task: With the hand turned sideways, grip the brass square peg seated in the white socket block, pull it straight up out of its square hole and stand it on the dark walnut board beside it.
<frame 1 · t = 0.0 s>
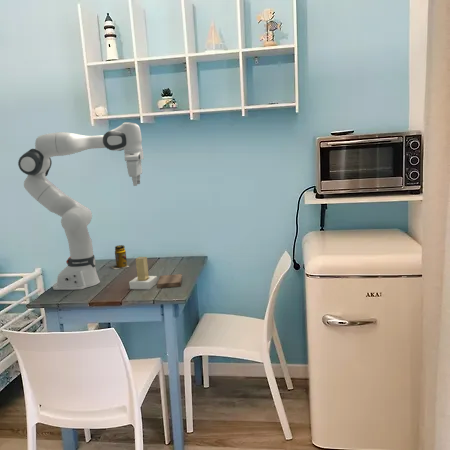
hand: (136, 184, 229), 48 cm above the table, tool pointing down, fingers open, 8 cm apart
socket block: (144, 285, 227), on the table
condiment: (120, 267, 267), on the table
board: (170, 282, 229), on the table
peg: (144, 286, 227), resting in socket block
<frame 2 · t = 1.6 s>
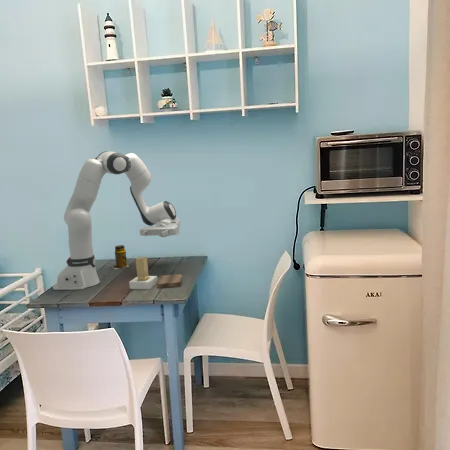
hand: (153, 234, 238), 22 cm above the table, tool horizontal, fingers open, 8 cm apart
nothing on the table moved.
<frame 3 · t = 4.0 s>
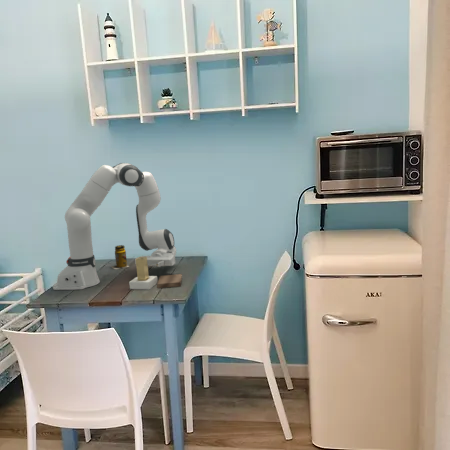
hand: (148, 265, 232), 8 cm above the table, tool horizontal, fingers open, 8 cm apart
nothing on the table moved.
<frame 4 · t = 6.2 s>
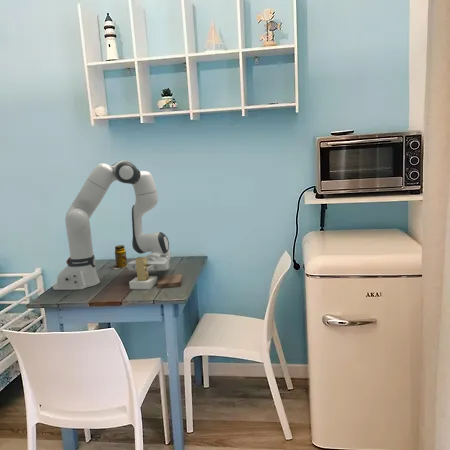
hand: (141, 269, 224), 8 cm above the table, tool horizontal, fingers closed on peg, 4 cm apart
peg: (144, 286, 227), resting in socket block, touching gripper
everything else where it was.
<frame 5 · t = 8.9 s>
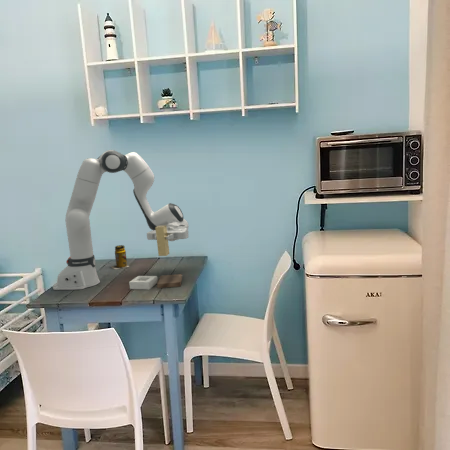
hand: (161, 238, 224), 23 cm above the table, tool horizontal, fingers closed on peg, 4 cm apart
peg: (164, 254, 226), point 14 cm above the table, touching gripper
everything else where it was.
when the fingers open (12 cm above the table, at t = 11.9 s): peg drops 1 cm, resting on board.
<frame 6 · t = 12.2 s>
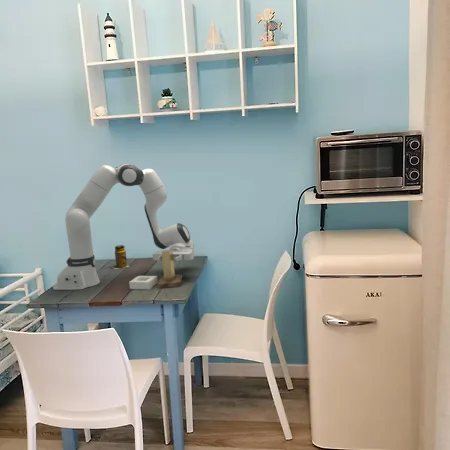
hand: (167, 259, 226), 12 cm above the table, tool horizontal, fingers open, 7 cm apart
peg: (169, 278, 229), point 2 cm above the table, touching board
everything else where it was.
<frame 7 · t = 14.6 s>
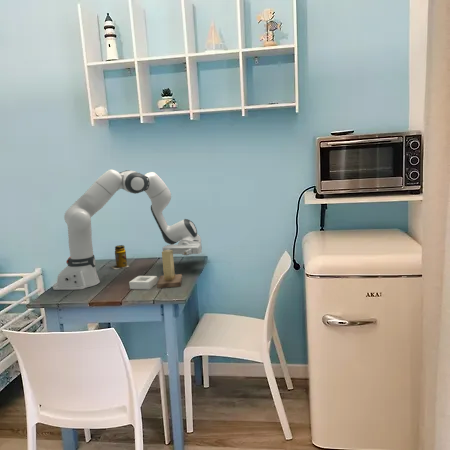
hand: (176, 253, 238), 12 cm above the table, tool horizontal, fingers open, 8 cm apart
nothing on the table moved.
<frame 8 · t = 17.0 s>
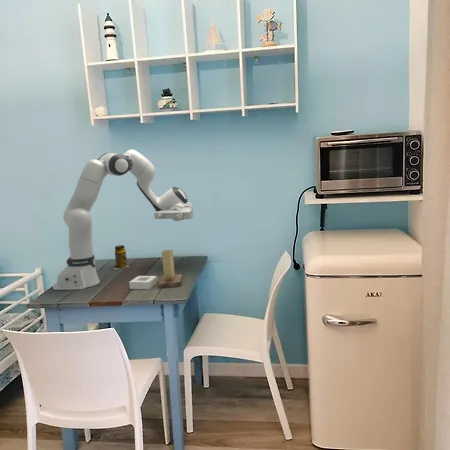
hand: (168, 217, 239), 30 cm above the table, tool horizontal, fingers open, 8 cm apart
nothing on the table moved.
at the end: peg inside the target area on the board (0.1 cm from its centre), point 2.0 cm above the board's base; peg tilted 0°; the gripper is holding nothing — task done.
